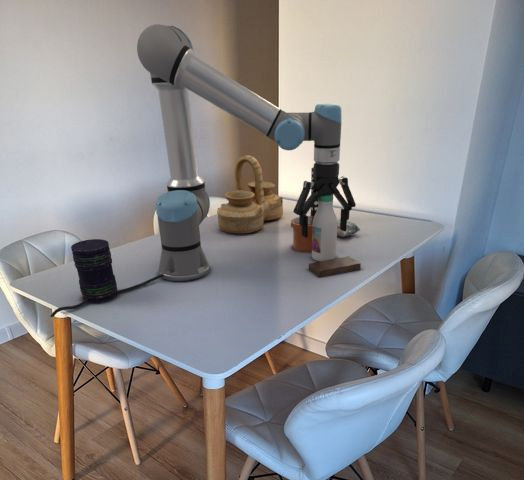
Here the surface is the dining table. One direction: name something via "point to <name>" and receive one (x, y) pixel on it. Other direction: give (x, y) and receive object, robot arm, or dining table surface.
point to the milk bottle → (324, 230)
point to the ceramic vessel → (249, 202)
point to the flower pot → (299, 240)
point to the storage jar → (95, 270)
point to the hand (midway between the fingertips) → (324, 233)
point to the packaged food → (347, 229)
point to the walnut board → (334, 266)
